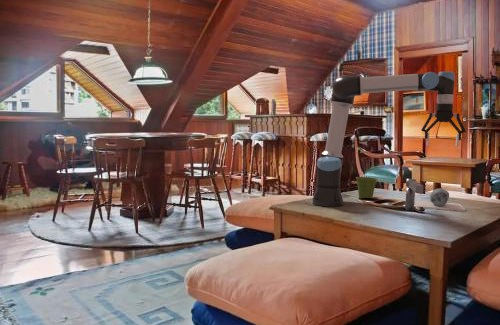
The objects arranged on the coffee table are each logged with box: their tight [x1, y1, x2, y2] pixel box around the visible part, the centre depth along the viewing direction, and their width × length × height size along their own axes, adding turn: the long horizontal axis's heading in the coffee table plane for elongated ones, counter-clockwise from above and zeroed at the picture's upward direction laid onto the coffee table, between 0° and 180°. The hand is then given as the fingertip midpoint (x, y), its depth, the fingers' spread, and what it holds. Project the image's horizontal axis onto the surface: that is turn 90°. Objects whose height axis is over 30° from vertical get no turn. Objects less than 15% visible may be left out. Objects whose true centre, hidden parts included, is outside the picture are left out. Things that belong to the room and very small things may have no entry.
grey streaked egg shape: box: [429, 188, 450, 206], centre depth 227 cm, size 14×10×10 cm
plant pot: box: [355, 176, 379, 199], centre depth 248 cm, size 12×12×11 cm
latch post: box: [404, 186, 416, 212], centre depth 215 cm, size 4×4×11 cm
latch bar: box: [405, 178, 424, 194], centre depth 205 cm, size 24×4×4 cm, turn 169°
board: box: [414, 200, 466, 212], centre depth 227 cm, size 22×17×1 cm
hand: (442, 146), depth 225 cm, fingers open, 13 cm apart
